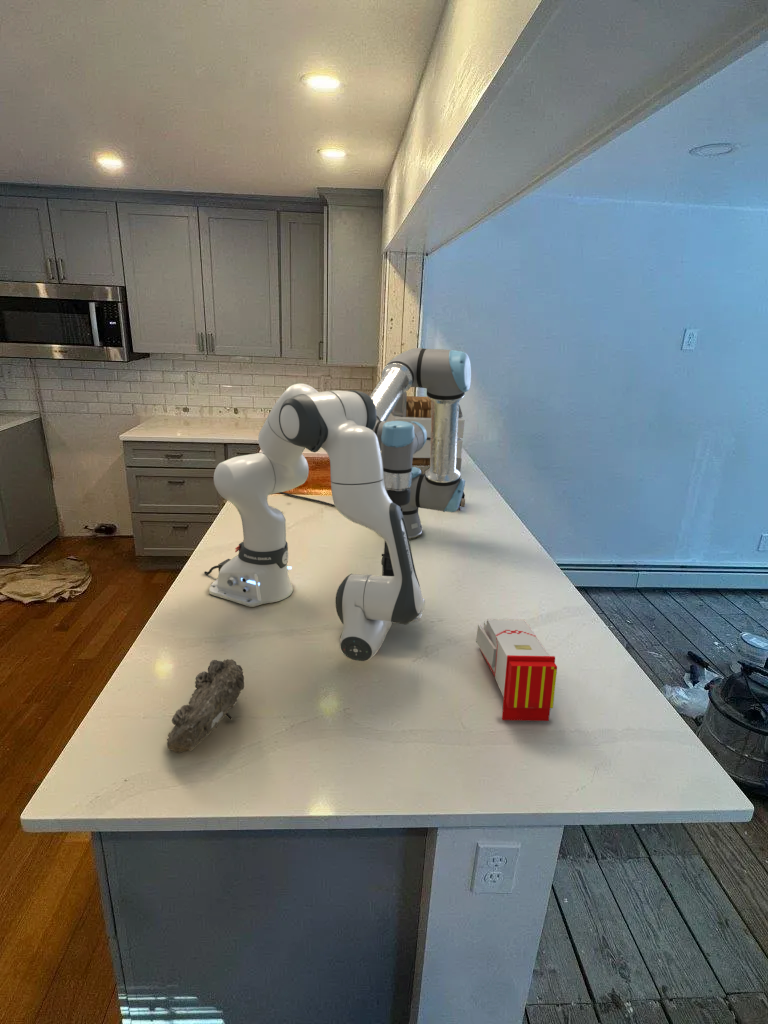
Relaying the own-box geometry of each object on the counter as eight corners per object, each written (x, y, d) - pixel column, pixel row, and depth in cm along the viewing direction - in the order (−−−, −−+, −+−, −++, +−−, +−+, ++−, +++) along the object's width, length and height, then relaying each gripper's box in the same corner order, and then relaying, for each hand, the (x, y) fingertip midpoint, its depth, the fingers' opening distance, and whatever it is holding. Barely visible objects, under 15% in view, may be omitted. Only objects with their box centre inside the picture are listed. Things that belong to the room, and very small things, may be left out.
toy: (523, 604, 135) (566, 662, 106) (518, 656, 138) (559, 727, 109) (472, 603, 135) (501, 661, 105) (468, 655, 138) (496, 726, 108)
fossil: (192, 660, 117) (244, 628, 112) (224, 691, 120) (276, 661, 115) (142, 746, 98) (202, 712, 93) (182, 779, 101) (242, 748, 96)
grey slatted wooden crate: (382, 463, 289) (386, 382, 275) (445, 464, 293) (451, 384, 279) (390, 482, 257) (394, 392, 243) (460, 483, 261) (468, 394, 247)
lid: (385, 569, 140) (385, 563, 140) (378, 561, 145) (378, 555, 144) (404, 567, 142) (404, 561, 141) (397, 559, 146) (397, 553, 146)
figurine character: (465, 515, 224) (460, 499, 237) (467, 498, 221) (462, 483, 234) (448, 515, 224) (444, 499, 237) (450, 498, 220) (445, 482, 234)
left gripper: (419, 609, 131) (431, 583, 143) (336, 595, 135) (353, 571, 148) (418, 633, 133) (429, 605, 145) (335, 618, 137) (353, 593, 150)
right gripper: (385, 474, 146) (381, 555, 154) (373, 498, 127) (370, 589, 135) (414, 476, 145) (409, 558, 153) (406, 500, 127) (401, 592, 134)
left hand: (390, 588), depth 147 cm, fingers closed on jar, 4 cm apart
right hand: (390, 572), depth 144 cm, fingers open, 7 cm apart
